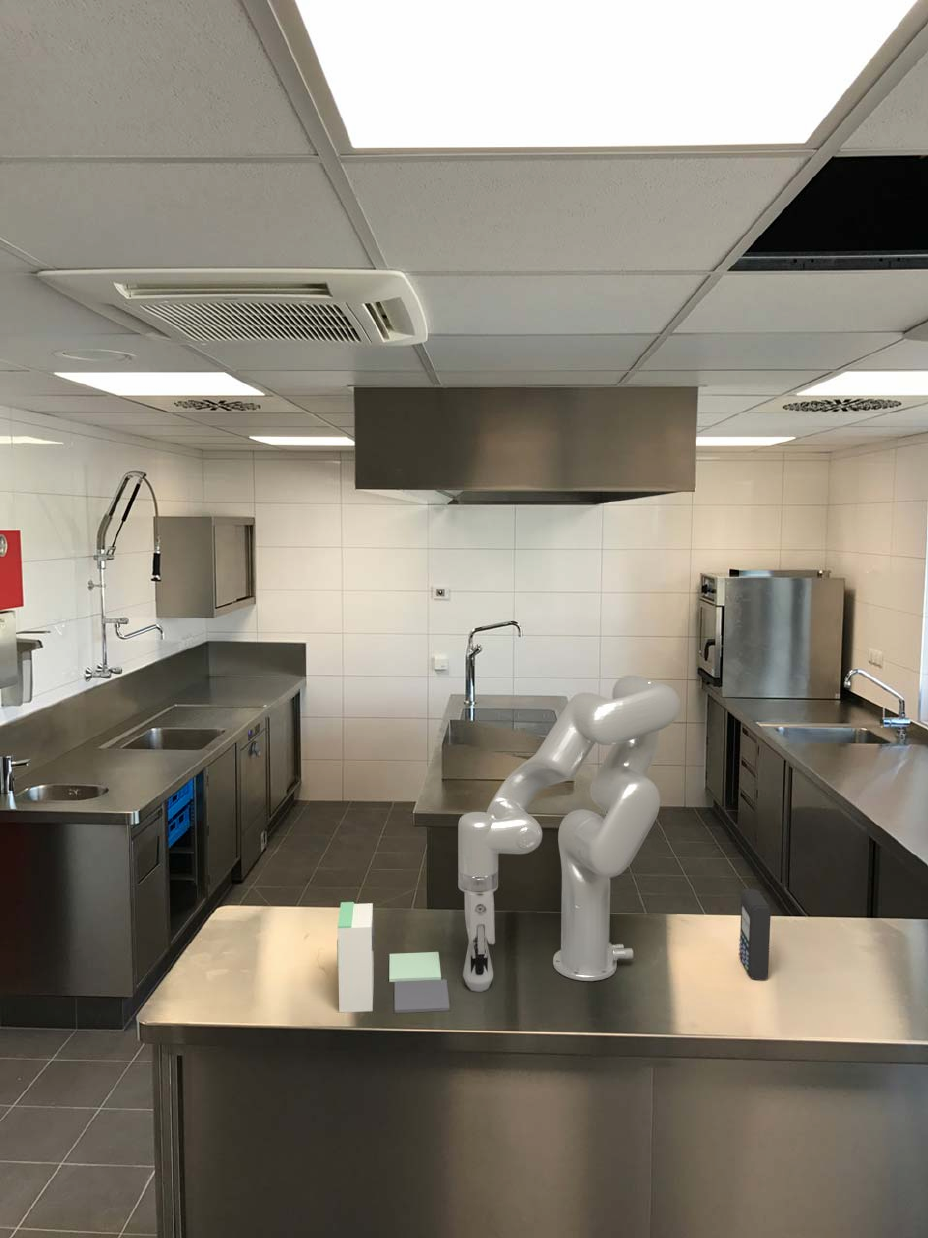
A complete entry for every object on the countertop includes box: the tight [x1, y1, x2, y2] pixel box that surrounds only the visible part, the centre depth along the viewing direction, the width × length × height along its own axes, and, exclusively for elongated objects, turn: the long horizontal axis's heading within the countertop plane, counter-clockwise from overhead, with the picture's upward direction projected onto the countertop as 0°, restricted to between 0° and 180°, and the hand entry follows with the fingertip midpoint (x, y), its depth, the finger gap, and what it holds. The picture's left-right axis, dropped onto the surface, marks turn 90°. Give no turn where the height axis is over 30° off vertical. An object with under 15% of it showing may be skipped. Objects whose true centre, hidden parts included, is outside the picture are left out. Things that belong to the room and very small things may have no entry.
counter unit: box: [336, 901, 375, 1014], centre depth 164 cm, size 7×10×16 cm, turn 5°
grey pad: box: [394, 978, 450, 1014], centre depth 165 cm, size 10×10×1 cm
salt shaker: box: [462, 939, 494, 993], centre depth 168 cm, size 6×6×13 cm
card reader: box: [738, 888, 772, 980], centre depth 174 cm, size 9×4×15 cm, turn 177°
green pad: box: [388, 951, 442, 983], centre depth 176 cm, size 10×10×1 cm
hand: (478, 970), depth 168 cm, fingers closed on salt shaker, 3 cm apart
